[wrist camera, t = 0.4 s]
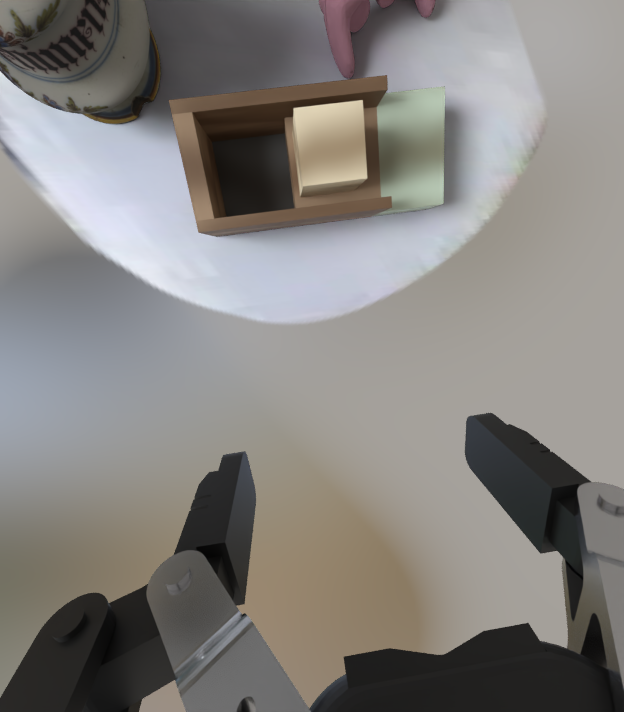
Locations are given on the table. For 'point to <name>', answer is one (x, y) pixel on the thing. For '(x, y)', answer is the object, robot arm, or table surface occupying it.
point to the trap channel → (278, 164)
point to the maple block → (329, 147)
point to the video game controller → (353, 26)
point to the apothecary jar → (81, 55)
